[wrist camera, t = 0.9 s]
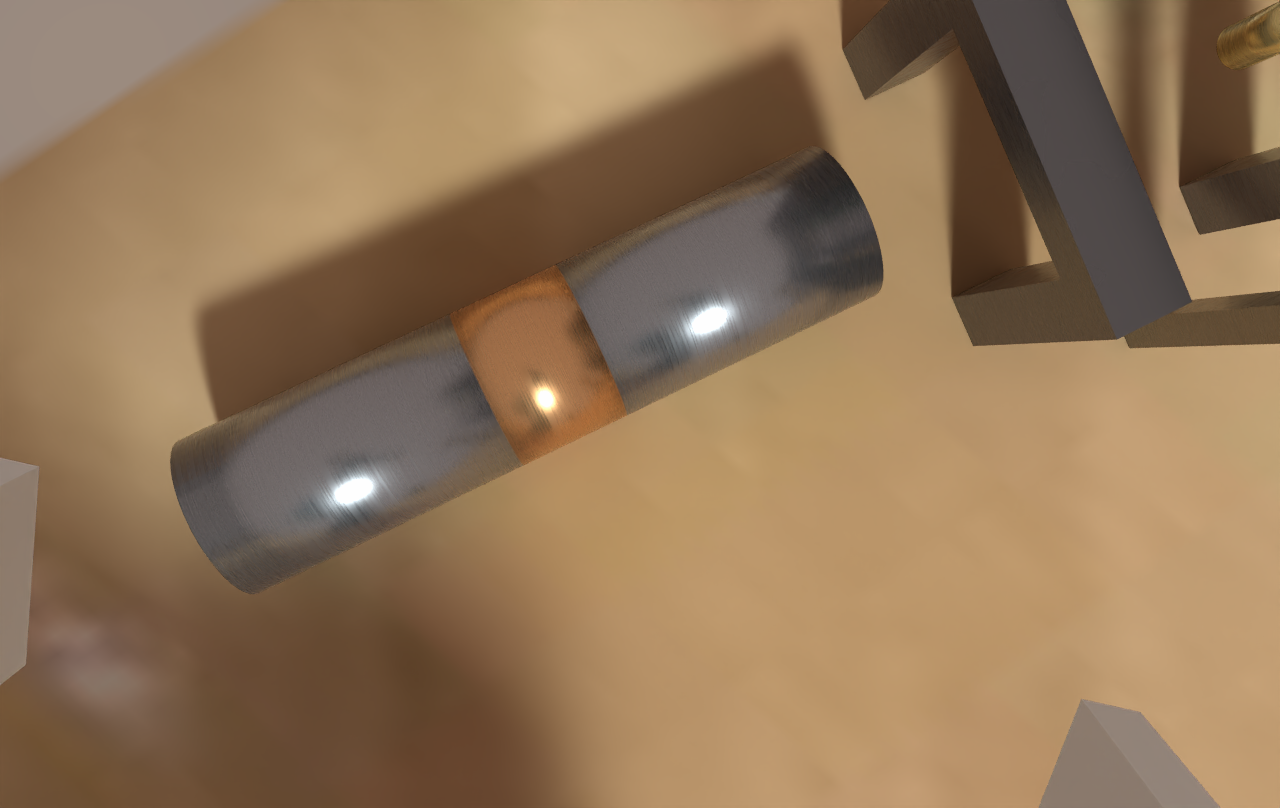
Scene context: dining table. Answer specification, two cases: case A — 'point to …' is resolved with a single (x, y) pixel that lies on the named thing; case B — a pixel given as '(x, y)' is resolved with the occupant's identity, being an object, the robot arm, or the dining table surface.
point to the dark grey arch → (1041, 167)
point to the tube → (525, 370)
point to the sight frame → (1241, 314)
